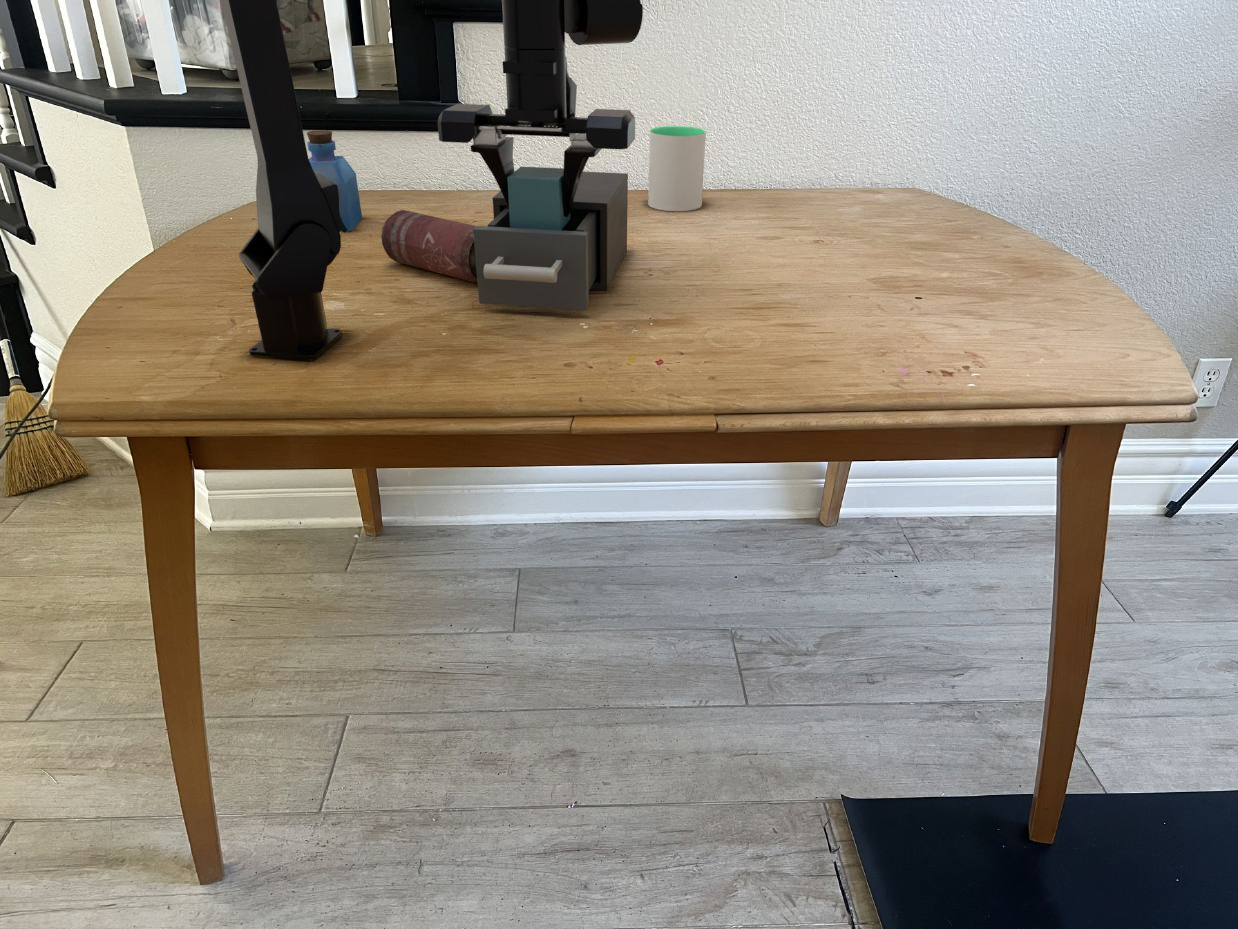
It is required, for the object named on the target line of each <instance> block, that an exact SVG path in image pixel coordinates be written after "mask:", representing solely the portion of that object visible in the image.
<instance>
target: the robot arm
mask: <svg viewBox="0 0 1238 929" xmlns="http://www.w3.org/2000/svg"><path fill="white" fill-rule="evenodd" d="M220 3H221V6H222V11H223V15H224V19H225V24H226V28H227V32H228V37H229V42H230V45H231V49H232V54H233V59H234V62H235V63H234V64H235V67H236V72H237V76H238V79H239V84H240V89H241V93H242V97H243V101H244V106H245V110H246V114H247V118H248V119H247V120H248V123H249V127H250V131H251V135H252V140H253V144H254V149H255V152H256V158H257V168H256V171H257V172H256V186H255V198H256V201H255V202H256V216H257V229H256V230H255V232H254V233H253V234H252V236H251V237H250V238H249V239H248V241H247V242H246V244H244V246H243V247H242V249H241V250H240V251H239V253H238V258H239V260H241V262H242V264H243V266H244V267H245V269H246V270H247V272H248V273H249V274H250V275H251V276H252V277H253V279H254V280H255V281H254V282H253V283H252V285H251V288H252V291H250V292H251V297H252V302H253V305H254V311H255V316H256V320H257V324H258V329H259V334H260V338H261V340H260V341H258V342H257V343H256V344H254V345H253V346H252V347H250V348H249V349H248V352H249V355H250V356H254V357H267V358H279V359H289V360H290V359H292V360H305V361H314V360H316V359H317V358H318V357H320V356H321V355H323V353H324V352H325V351H327V349H329V348H330V347H331V346H332V345H334V343H336V342H337V341H338V340H339V339H340V338H341V337H342V336H344V335H343V334H344V333H343V329H341V328H340V329H339V328H328V326H327V325H328V324H327V323H328V322H327V318H326V313H325V307H324V301H323V294H322V292H323V290H324V285H325V280H326V276H327V270H328V266H329V265H331V264H332V263H333V262H334V260H335V259H336V258H337V256H338V255H339V254H340V252H341V248H342V238H341V237H342V235H341V233H340V232H342V233H347V232H348V231H347V228H346V227H345V225H344V224H343V222H342V219H341V216H340V212H339V192H338V186H337V185H336V184H335V183H333V182H332V181H331V180H329V179H328V178H327V177H325V176H324V175H323V174H321V173H320V172H317V173H314V171H313V169H312V166H311V164H310V161H309V155H308V148H307V145H306V144H307V143H306V140H305V135H304V130H303V125H302V121H301V115H300V111H299V105H298V101H297V95H296V91H295V90H296V89H295V85H294V80H293V75H292V71H291V64H290V60H289V55H288V51H287V50H288V49H287V46H286V42H285V35H284V32H283V26H282V21H281V16H280V12H279V7H278V1H277V0H220ZM501 5H502V6H501V8H502V26H503V28H502V29H503V47H504V48H503V50H504V60H503V61H502V74H505V87H506V88H505V89H506V103H507V107H506V108H504V114H501V113H493V111H492V108H491V104H478V103H477V104H474V103H473V104H472V103H456V104H454V105H452V106H449V107H447V108H445V109H443V110H442V111H441V113H440V114H439V115H438V119H437V132H438V141H439V142H442V143H458V144H459V143H462V144H468V143H470V142H471V141H472V145H470V152H471V153H478V154H479V155H480V157H481V158H482V160H483V161H484V163H485V165H486V166H487V167H488V169H489V171H490V173H491V174H492V176H493V178H494V180H495V182H496V184H497V186H498V188H499V190H500V191H501V192H502V194H503V196H504V199H505V201H506V203H507V205H508V207H509V196H508V177H509V176H510V175H511V174H512V173H514V172H515V171H516V170H515V165H514V141H515V140H514V139H515V138H514V136H531V137H533V136H535V137H555V138H557V137H558V138H569V142H571V143H570V145H569V146H568V147H566V149H565V150H564V152H563V168H564V172H563V200H562V201H563V211H564V217H568V216H569V214H570V211H571V207H572V204H573V201H574V197H575V194H576V191H577V187H578V184H579V181H580V177H581V174H582V172H584V171H585V170H584V169H585V167H586V165H587V162H588V160H589V158H594V157H596V156H597V155H598V154H599V153H600V152H601V150H602V149H603V150H626V149H629V147H631V145H632V143H633V142H634V141H635V140H636V116H635V115H634V114H633V113H632V111H631V110H630V109H614V108H613V109H612V108H611V109H609V108H595V109H594V110H593V111H592V112H590V113H589V114H588V115H587V117H579V116H576V110H577V88H578V85H577V84H576V82H575V81H574V80H573V78H572V77H570V75H569V72H568V60H567V56H566V35H567V34H568V36H569V39H570V40H571V42H572V43H573V44H575V45H577V46H592V45H614V44H615V45H617V44H618V45H619V44H631V43H633V42H634V41H635V40H636V38H637V37H638V36H639V33H640V30H641V28H642V23H643V17H644V16H643V14H644V7H643V6H644V5H643V4H642V2H641V0H501ZM508 135H510V136H508ZM339 230H340V231H339Z"/></svg>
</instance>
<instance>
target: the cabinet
mask: <svg viewBox="0 0 1238 929" xmlns="http://www.w3.org/2000/svg"><path fill="white" fill-rule="evenodd" d="M628 180H629V173H627V172H626V173H625V172H604V171H603V172H602V171H583V172H582V174H581V177H580V181H579V184H578V187H577V191H576V194H575V197H574V201H573V204H572V207H571V209H581V210H600V272H599V274H598V276H597V277H596V279H595V281H594V283H593V285H592V286H591V288H590V290H594V291H608V290H609V288H610V285H611V284H612V282H613V280H614V278H615V276H616V274H617V272H618V270H619V268H620V266H621V264H622V262H623V260H624V258H625V256H626V254H627V252H628V206H629V205H628V204H629V203H628V201H629V200H628V197H629V196H628V195H629V194H628V193H629V190H628V189H629V181H628ZM507 206H508V205H507V203H506V201H505V199H504V196H503V194H502V192H501V190H500V191H499V192H498V193H496V194H495V195H494V196H493V197H492V212H493V219H494V218H495V217H497V216H498V215H499V214H500V213H501V212H502V211H503V210H504V209H505V208H506V207H507Z"/></svg>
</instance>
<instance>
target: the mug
mask: <svg viewBox="0 0 1238 929" xmlns="http://www.w3.org/2000/svg"><path fill="white" fill-rule="evenodd" d="M706 135H707V131H706V130H705V129H702V128H699V127H693V126H683V125H682V126H681V125H673V126H672V125H668V126H667V125H666V126H658V127H657V126H656V127H653V128H651V129H649V146H648V147H649V148H648V149H649V150H648V151H649V153H648V185H647V186H648V188H647V189H648V190H647V193H648V194H647V205H648V206H649V207H650V208H653V209H655V210H658V211H659V210H660V211H667V212H688V211H694V210H699V209H700V208H702V206H703V192H704V190H703V188H704V174H705V173H704V170H705V154H706V137H707V136H706Z"/></svg>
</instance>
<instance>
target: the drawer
mask: <svg viewBox="0 0 1238 929" xmlns="http://www.w3.org/2000/svg"><path fill="white" fill-rule="evenodd" d="M475 226H476V227H475V228H474V229H473V231H474V244H475V256H476V269H477V282H476V283H477V292H478V302H479V304H480V305H493V306H510V307H523V308H524V307H526V308H539V309H541V308H542V309H555V310H568V311H569V310H571V311H585V312H586V311H587V310H588V309H589V305H590V304H589V302H590V301H589V291H590V290H591V289H590V288H591V286H592V285H593V283H594V281H595V279H596V277H597V276H598V274H599V272H600V210H581V209H571V211H570V220H569V221H568V223H567V224H566V225H565V226H564V228H563V229H562V230H542V229H524V228H510V214H509V207H508V206H507V207H506V208H505V209H504V210H503V211H502V212H501V213H500V214H499V215H498V216H497V217H495V218H494V217H493V219H492V220H491V221H490V222H489V223H488V224H487V226H485V225H484V226H483V225H475Z"/></svg>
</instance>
